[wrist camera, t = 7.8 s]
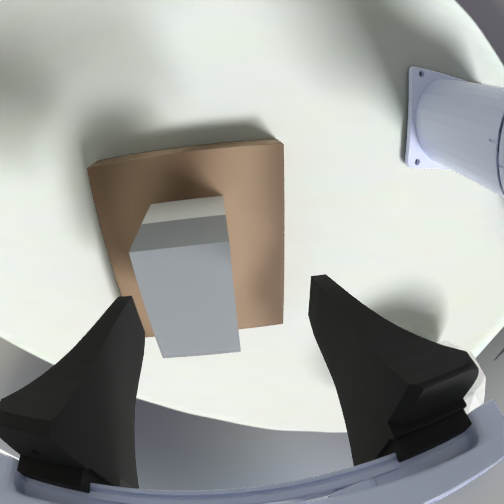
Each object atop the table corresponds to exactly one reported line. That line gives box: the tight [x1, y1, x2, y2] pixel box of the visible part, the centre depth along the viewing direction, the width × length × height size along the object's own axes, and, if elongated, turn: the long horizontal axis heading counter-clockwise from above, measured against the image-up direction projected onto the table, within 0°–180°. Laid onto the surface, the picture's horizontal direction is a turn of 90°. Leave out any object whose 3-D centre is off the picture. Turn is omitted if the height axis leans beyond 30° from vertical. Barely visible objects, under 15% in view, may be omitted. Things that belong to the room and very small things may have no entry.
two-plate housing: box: [129, 196, 241, 358], centre depth 17 cm, size 4×7×6 cm, turn 3°
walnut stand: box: [87, 139, 284, 337], centre depth 21 cm, size 12×14×2 cm
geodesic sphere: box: [438, 341, 486, 414], centre depth 28 cm, size 15×14×14 cm
